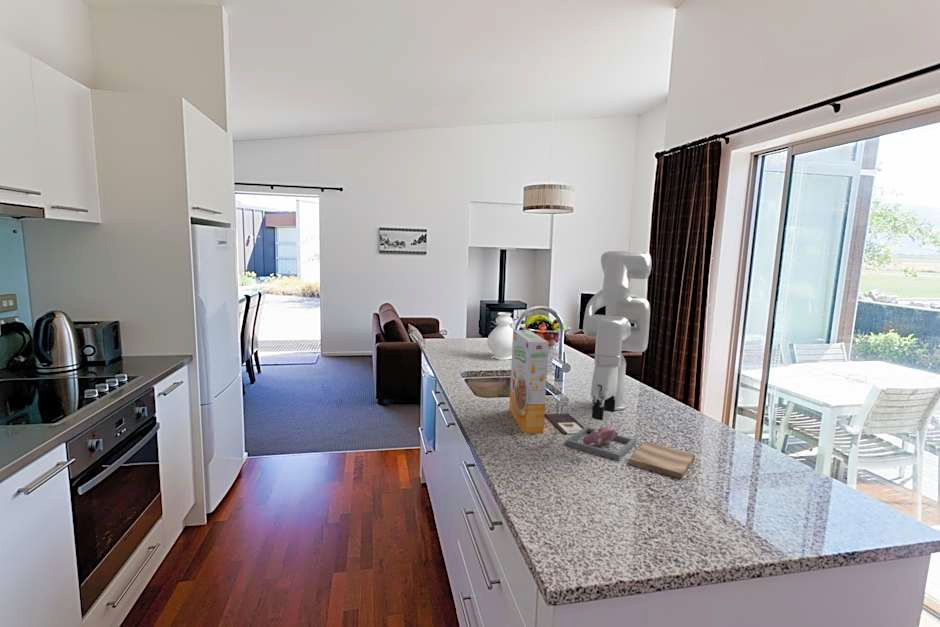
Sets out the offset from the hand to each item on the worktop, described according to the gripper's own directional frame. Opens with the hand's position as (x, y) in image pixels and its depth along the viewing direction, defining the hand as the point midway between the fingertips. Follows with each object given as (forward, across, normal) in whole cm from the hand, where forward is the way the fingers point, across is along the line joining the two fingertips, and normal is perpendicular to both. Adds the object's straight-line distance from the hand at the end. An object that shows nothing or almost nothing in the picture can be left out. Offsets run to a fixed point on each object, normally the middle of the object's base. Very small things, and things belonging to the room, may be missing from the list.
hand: (603, 415), depth 144 cm
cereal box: (+10, -2, -28) cm, 30 cm away
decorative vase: (+9, -81, -88) cm, 120 cm away
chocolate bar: (+10, -9, -16) cm, 21 cm away
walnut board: (+9, 0, +18) cm, 20 cm away
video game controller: (+10, 0, 0) cm, 10 cm away
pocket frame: (+9, 0, 0) cm, 9 cm away
